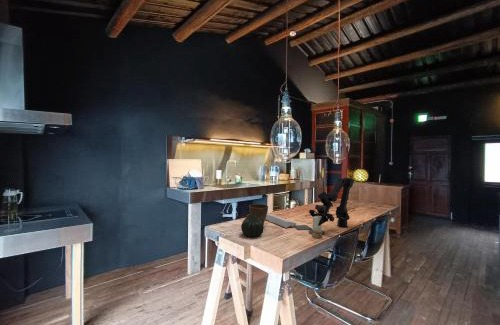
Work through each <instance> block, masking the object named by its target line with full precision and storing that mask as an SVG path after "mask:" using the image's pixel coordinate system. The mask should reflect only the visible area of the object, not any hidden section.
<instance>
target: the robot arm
mask: <svg viewBox="0 0 500 325" xmlns="http://www.w3.org/2000/svg"><path fill="white" fill-rule="evenodd" d="M354 183H355V180H354V179H353V178H352V177H343V178H342V177H341V178H340V177H339V178H338V179H337V182H336V183H335V184H334V187H333V188H332V190H330V191H328V192H325V191H322V192H321V193H319V194H318V196H317V197H318V200H319V201H320V202H321V204H322V205H319V204H315V206H314V209H310V210H308V213H309V215H310V216H311V217H312V218H313V217H315V216H320V217H322V218H321V220H320V222H319V224H318V226H320V225H321V224H322V225H323V224H325V223H326V222H331V223H332V222H334V221H335V217H336V219H337V224H336V226H337V227H339V228H349V226H348V221H349V220H350V218H351V217H350V215H349V214H348V208H347V205H348V200H349V197H350V196H349V195H350V189H352V188H353V186H354ZM341 190H342V193H341V198H340V202H339V203H340V204H339V205H338V206H337V207H336V210H335V217H334V215H333V214H332V213H330V209H331V208H333V207H334V204H333V203H336V201H338V198H339V193H340V192H341Z"/></svg>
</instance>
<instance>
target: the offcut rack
mask: <svg viewBox="0 0 500 325" xmlns="http://www.w3.org/2000/svg"><path fill="white" fill-rule="evenodd" d="M312 230H313V229H312ZM312 230H308V234H310V235H312V233H313V231H312ZM321 231H322V236H323V235H325V234H326V231H325V230H323V229H321Z"/></svg>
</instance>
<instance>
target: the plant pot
mask: <svg viewBox="0 0 500 325" xmlns="http://www.w3.org/2000/svg"><path fill="white" fill-rule="evenodd" d="M248 209H249V214H251V215H254V216H255V217H257V218H259V219H260V220H261V222H262V224H263V225H264V224H265V222H266V220H265V219H266V215H267V214H268V211H269V206H268V205H266V204H261V203H260V204H259V203H254V204H249V205H248Z"/></svg>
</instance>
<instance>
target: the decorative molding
mask: <svg viewBox="0 0 500 325" xmlns="http://www.w3.org/2000/svg"><path fill="white" fill-rule="evenodd" d="M265 221H268V222H271V223H273V224H275V225H278V226H280V227H283V228H285V229H287V228H289V227H293V226H294V225H297V222H294V221H292V220H289V219H286V218H283V217H280V216H278V215H274V214H272V213H267V215H266V219H265ZM293 228H294V227H293Z"/></svg>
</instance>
